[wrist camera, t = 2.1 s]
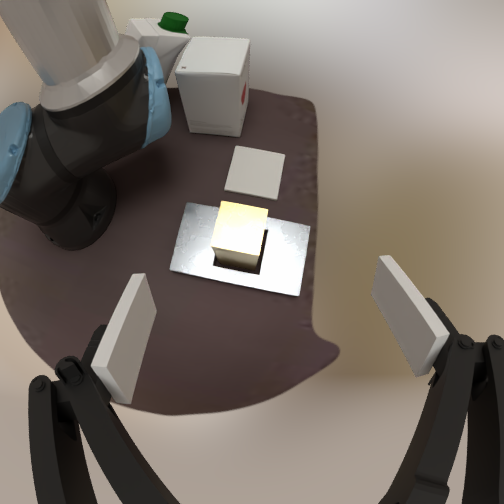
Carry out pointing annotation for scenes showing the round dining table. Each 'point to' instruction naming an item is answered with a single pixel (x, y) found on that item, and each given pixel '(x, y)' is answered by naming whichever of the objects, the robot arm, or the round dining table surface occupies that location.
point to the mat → (255, 173)
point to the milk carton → (161, 37)
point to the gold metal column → (238, 235)
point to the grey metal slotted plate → (270, 278)
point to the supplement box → (215, 84)
